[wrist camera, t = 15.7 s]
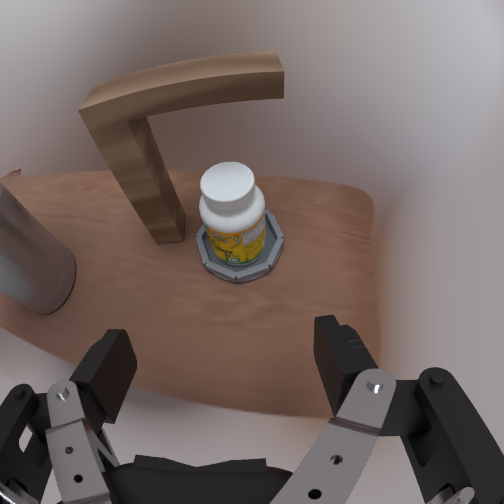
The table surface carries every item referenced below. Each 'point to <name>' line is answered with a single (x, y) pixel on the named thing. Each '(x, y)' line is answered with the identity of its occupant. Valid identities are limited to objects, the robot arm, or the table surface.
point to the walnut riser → (160, 101)
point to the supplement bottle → (233, 213)
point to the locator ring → (248, 271)
